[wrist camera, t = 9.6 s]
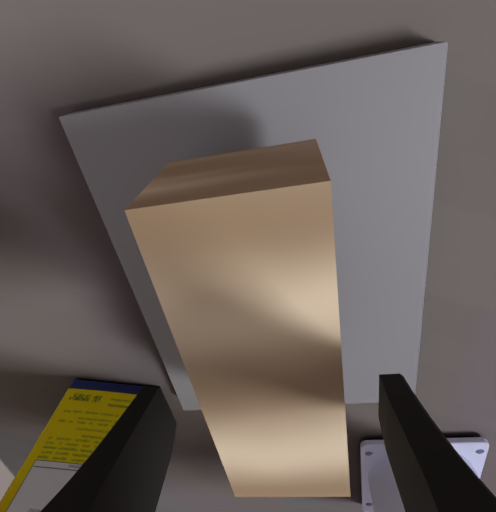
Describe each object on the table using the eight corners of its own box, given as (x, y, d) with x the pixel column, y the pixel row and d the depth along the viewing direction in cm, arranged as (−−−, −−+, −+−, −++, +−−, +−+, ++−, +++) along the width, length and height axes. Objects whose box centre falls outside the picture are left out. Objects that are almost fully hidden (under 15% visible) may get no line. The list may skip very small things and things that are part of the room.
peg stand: (409, 386, 21) (426, 433, 19) (187, 397, 23) (175, 440, 21) (436, 41, 12) (477, 41, 10) (71, 112, 14) (26, 127, 12)
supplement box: (89, 429, 26) (-16, 640, 17) (73, 375, 23) (-65, 598, 14) (167, 438, 26) (104, 656, 17) (162, 385, 23) (81, 618, 14)
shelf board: (337, 411, 18) (350, 496, 15) (243, 415, 19) (235, 497, 16) (315, 138, 11) (330, 180, 8) (168, 162, 12) (123, 210, 9)
